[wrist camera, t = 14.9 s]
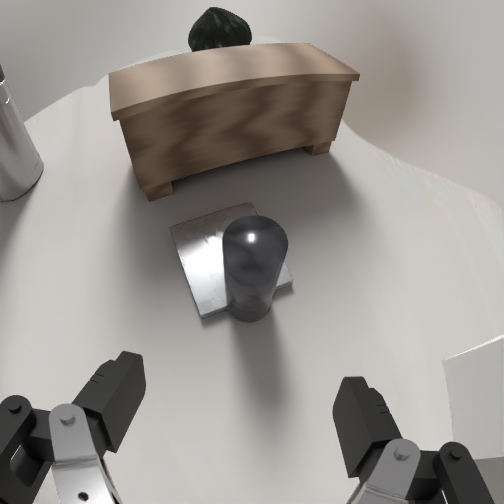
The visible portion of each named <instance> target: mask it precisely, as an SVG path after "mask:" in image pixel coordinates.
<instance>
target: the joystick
mask: <svg viewBox="0 0 504 504" xmlns="http://www.w3.org/2000/svg"><path fill="white" fill-rule="evenodd" d="M170 229H171V233H172V236H173V239H174V242H175V245H176V248H177V251H178V254H179V257H180V260H181V263H182V266H183V268H184V271H185V274H186V277H187V280H188V283H189V285H190V288H191V291H192V294H193V296H194V299H195V302H196V304H197V307H198V310H199V312H200V315H201V318H205V317H208V316H211V315H213V314H216V313H219V312H222V311H224V310H227V309H228V310H229V312H230V313H231V315H232V316H233V317H235V318H236V319H238V320H240V321H243V322H254V321H257V320H260V319H261V318H263V317H264V316H265V315H266V313H267V312H268V310H269V307H270V304H271V301H272V298H273V295H274V291H276V290H279V289H281V288H284V287H286V286H288V285H291V284H292V283H293V280H294V279H293V277H292V275H291V274H290V272H289V270H288V268H287V266H286V264H285V263H284V259H285V256H286V252H287V249H288V240H287V236H286V234H285V232H284V230H283V229H282V228H281V226H280V225H279V224H277V223H276V222H275V221H273V220H271V219H269V218H267V217H263V216H258V214H257V212H256V211H255V209H254V207H253V205H252V204H251V202H247V203H244V204H241V205H237V206H234V207H231V208H227V209H224V210H221V211H218V212H214V213H211V214H208V215H205V216H202V217H199V218H196V219H193V220H189V221H186V222H183V223H180V224H177V225H174V226H171V227H170Z"/></svg>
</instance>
